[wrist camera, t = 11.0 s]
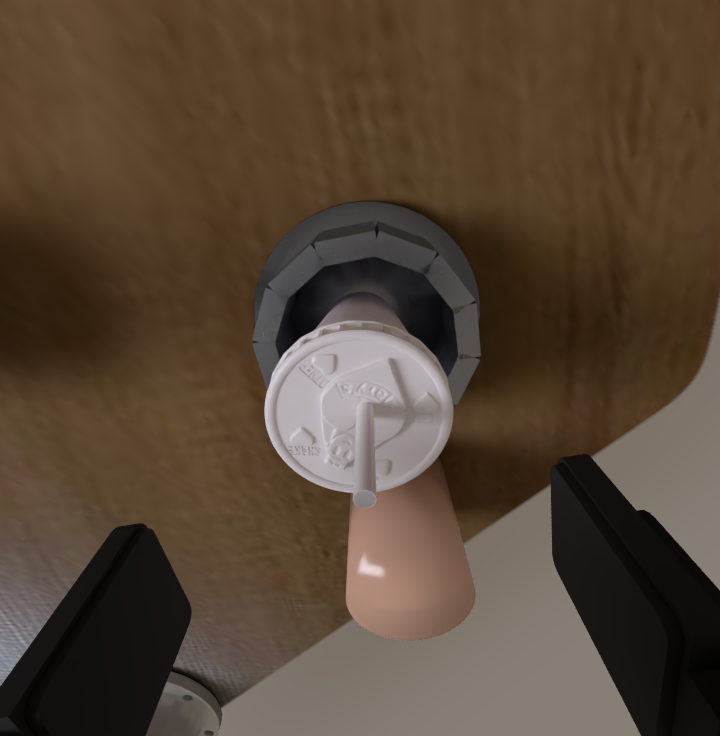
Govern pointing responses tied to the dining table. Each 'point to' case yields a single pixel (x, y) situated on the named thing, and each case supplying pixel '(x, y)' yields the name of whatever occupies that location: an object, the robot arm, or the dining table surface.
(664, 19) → the dining table surface
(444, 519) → the peach rounded cylinder
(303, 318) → the ring socket
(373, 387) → the smoothie
